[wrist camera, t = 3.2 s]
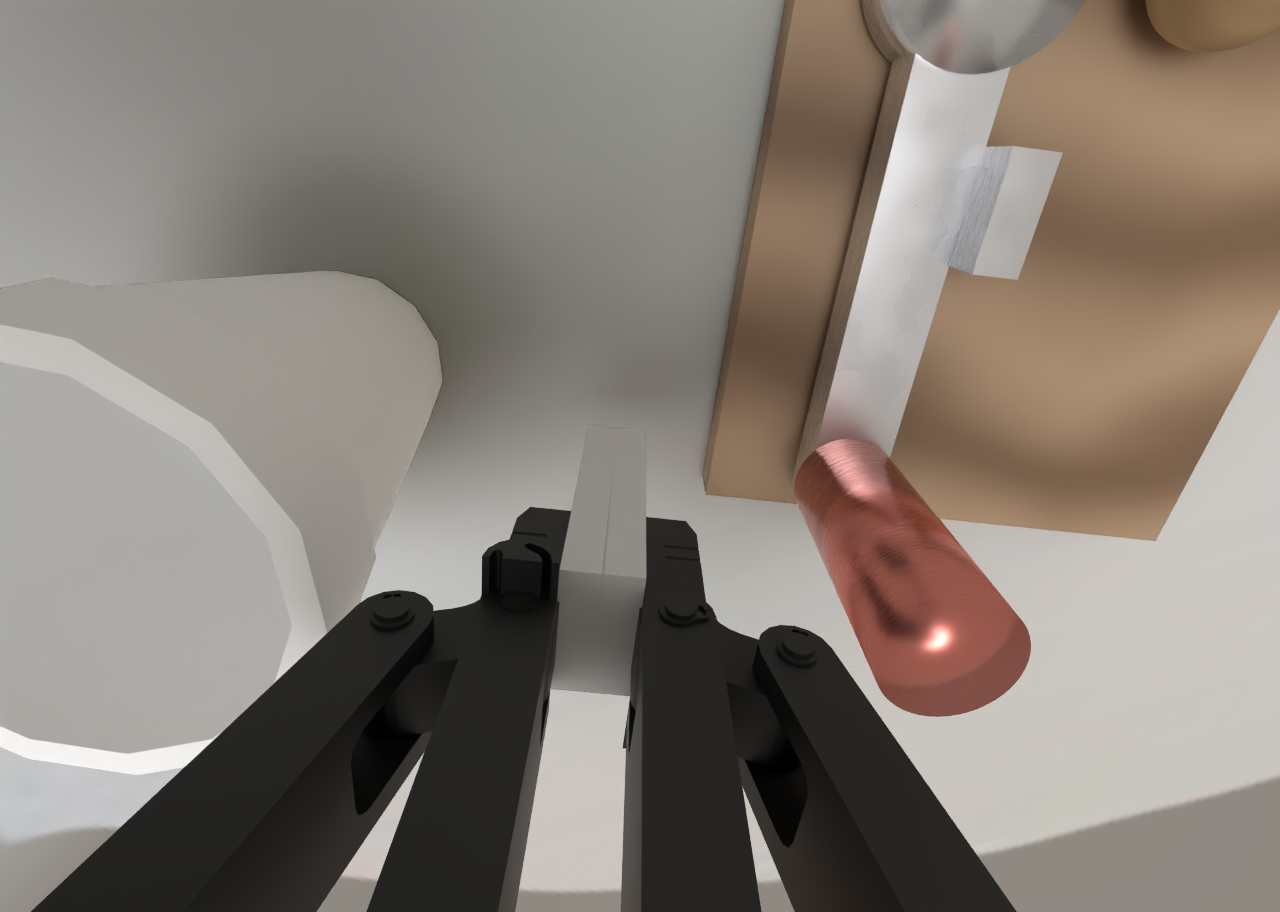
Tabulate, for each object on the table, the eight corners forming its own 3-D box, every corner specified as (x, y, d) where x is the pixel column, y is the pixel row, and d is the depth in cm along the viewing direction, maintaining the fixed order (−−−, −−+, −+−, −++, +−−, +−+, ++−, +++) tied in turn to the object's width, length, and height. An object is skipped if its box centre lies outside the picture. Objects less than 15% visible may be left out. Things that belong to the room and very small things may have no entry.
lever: (891, -174, 15) (1232, -623, 6) (1094, -143, 16) (1693, -537, 7) (750, 493, 23) (817, 706, 14) (887, 507, 23) (1038, 726, 14)
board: (845, -340, 15) (924, -534, 11) (1508, -232, 16) (1826, -374, 12) (702, 475, 25) (715, 544, 20) (1128, 520, 25) (1228, 595, 21)
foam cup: (247, 168, 20) (-303, 189, 8) (523, 297, 22) (384, 464, 10) (197, 421, 24) (-237, 683, 12) (436, 515, 26) (260, 825, 14)
